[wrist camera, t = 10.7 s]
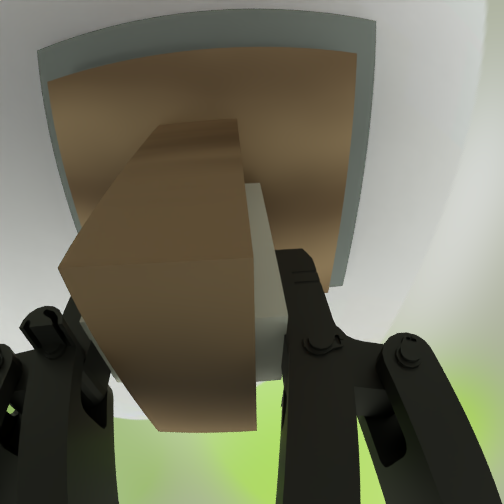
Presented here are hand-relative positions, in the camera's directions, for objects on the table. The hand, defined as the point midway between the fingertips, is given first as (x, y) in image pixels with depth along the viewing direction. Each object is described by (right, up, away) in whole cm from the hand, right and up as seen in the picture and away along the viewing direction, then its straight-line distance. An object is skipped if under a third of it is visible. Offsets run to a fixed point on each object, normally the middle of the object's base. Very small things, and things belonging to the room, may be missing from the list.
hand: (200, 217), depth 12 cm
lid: (0, +2, +2) cm, 3 cm away
